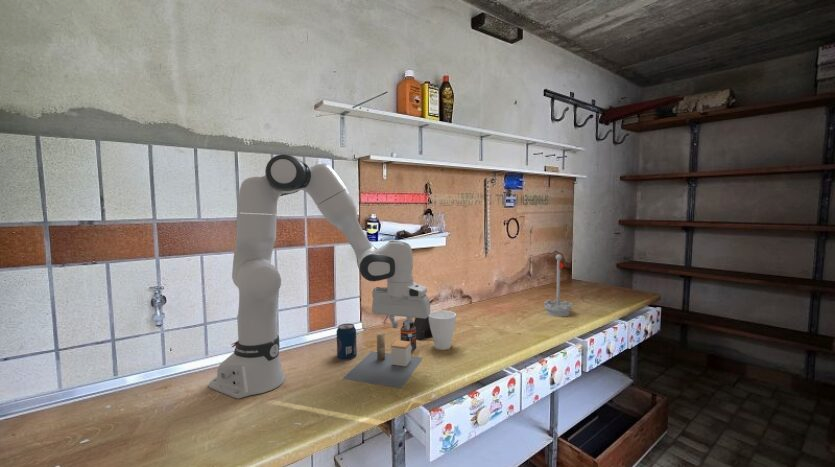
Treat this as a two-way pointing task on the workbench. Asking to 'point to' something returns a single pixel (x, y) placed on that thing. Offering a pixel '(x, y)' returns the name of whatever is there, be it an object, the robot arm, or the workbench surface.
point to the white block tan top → (401, 353)
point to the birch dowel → (380, 346)
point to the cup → (442, 328)
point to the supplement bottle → (409, 334)
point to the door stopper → (422, 328)
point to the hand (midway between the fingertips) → (400, 328)
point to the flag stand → (558, 298)
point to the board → (382, 371)
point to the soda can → (346, 342)
